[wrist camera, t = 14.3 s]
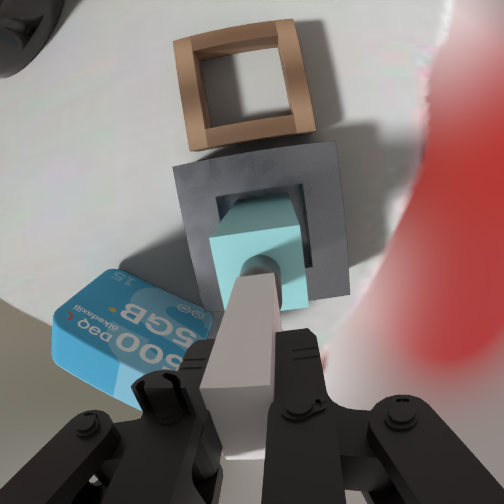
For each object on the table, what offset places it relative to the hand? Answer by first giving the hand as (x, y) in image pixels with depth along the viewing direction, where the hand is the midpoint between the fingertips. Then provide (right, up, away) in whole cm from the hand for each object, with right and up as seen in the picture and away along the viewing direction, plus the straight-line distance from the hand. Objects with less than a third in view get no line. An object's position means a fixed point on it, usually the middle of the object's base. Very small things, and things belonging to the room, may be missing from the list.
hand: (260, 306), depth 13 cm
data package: (-10, -3, +19) cm, 22 cm away
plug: (+1, +5, +14) cm, 15 cm away
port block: (+1, +5, +15) cm, 16 cm away
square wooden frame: (-1, +16, +12) cm, 20 cm away
